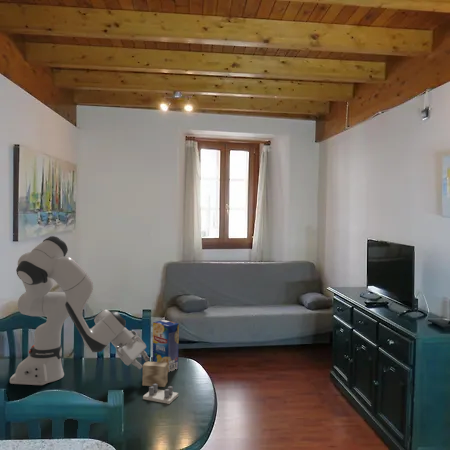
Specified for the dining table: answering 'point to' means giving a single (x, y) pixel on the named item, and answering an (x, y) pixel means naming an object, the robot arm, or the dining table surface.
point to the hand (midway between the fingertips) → (144, 364)
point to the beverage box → (166, 343)
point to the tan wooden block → (155, 373)
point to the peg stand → (160, 394)
